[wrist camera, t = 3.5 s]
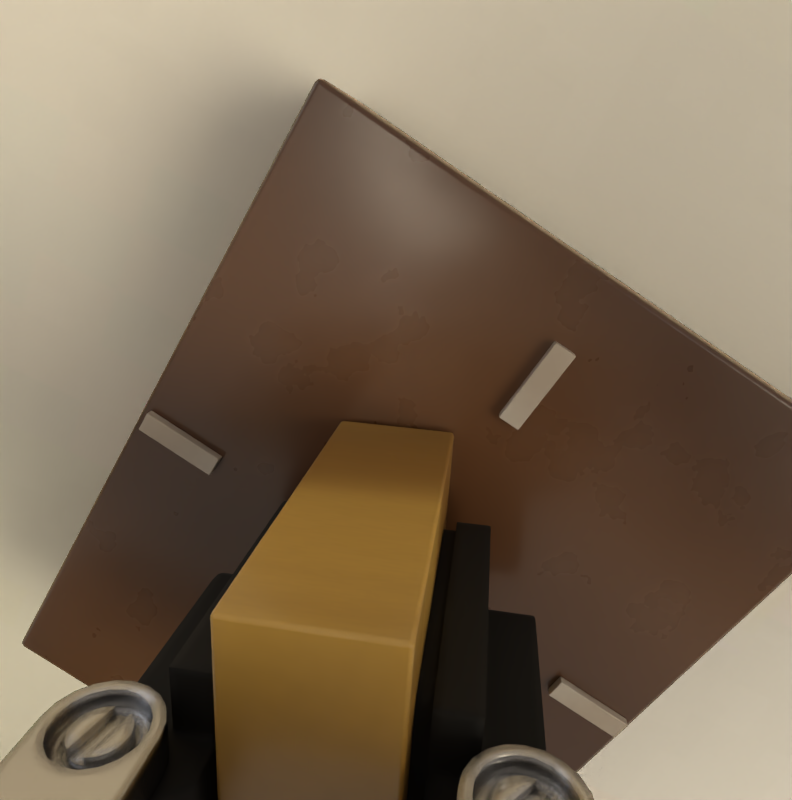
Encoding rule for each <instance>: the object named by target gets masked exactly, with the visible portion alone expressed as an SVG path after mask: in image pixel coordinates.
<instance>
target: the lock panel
mask: <svg viewBox="0 0 792 800" xmlns="http://www.w3.org/2000/svg"><path fill="white" fill-rule="evenodd" d="M342 421H348V422H358V423H367V424H377V425H386V426H395V427H405V428H414V429H423V430H433V431H442V432H451V433H453V435H454V441H453V452H452V463H451V474H450V485H449V496H448V507H447V518H446V530H454V531H456V526H457V522H462V523H471V524H479V525H487V526H491V536H490V572H489V607H488V609H489V610H496V611H503V612H511V613H518V614H525V615H532V616H534V617H535V621H536V631H537V644H538V656H539V668H540V680H541V693H542V705H543V717H544V730H545V742H546V752H548V753H550V754H552V755H553V756H555V757H557V758H559V759H561V760H562V761H564V762H565V763H566V764H567V765H568V766H570V767H571V768H572V769H573V770H574V771H575V772H576V773H577V772H578V771H579V770H580V769H581V768H582V767H583V766H584V765H585V764H586V763H587V762H588V761H590V760H591V759H592V758H593V757H594V756H595V755H596V754H597V753H598V752H599V751H600V750H601V749H603V748H604V747H605V746H606V745H607V744H608V743H609V742H610V741H611V740H612V739H613V738H614V737H616V736H617V735H618V734H619V733H620V732H621V731H623V730H624V729H625V728H626V727H627V726H628V725H629V724H630V723H631V722H632V721H633V720H634V719H635V718H636V717H637V716H638V715H639V714H640V713H641V712H643V711H644V710H645V709H646V708H647V707H648V706H649V705H650V704H651V703H652V702H653V701H654V700H656V699H657V698H658V697H659V696H660V695H661V694H662V693H663V692H664V691H665V690H666V689H667V688H669V687H670V686H671V685H672V684H673V683H674V682H675V681H676V680H677V679H678V678H679V677H680V676H682V675H683V674H684V673H685V672H686V671H687V670H688V669H689V668H690V667H691V666H692V665H693V664H695V663H696V662H697V661H698V660H699V659H700V658H701V657H702V656H703V655H704V654H705V653H706V652H708V651H709V650H710V649H711V648H712V647H713V646H714V645H715V644H716V643H717V642H718V641H719V640H720V639H722V638H723V637H724V636H725V635H726V634H727V633H728V632H729V631H730V630H731V629H732V628H733V627H735V626H736V625H737V624H738V623H739V622H740V621H741V620H742V619H743V618H744V617H745V616H746V615H748V614H749V613H750V612H751V611H752V610H753V609H754V608H755V607H756V606H757V605H758V604H759V603H761V602H762V601H763V600H764V599H765V598H766V597H767V596H768V595H769V594H770V593H771V592H772V591H774V590H775V589H776V588H777V587H778V586H779V585H780V584H781V583H782V582H783V581H784V580H785V579H787V578H788V577H789V576H790V575H791V574H792V399H791V398H789V397H788V396H786V395H785V394H783V393H782V392H780V391H779V390H778V389H776V388H775V387H773V386H772V385H770V384H769V383H767V382H766V381H764V380H763V379H762V378H760V377H759V376H757V375H756V374H754V373H753V372H751V371H750V370H748V369H747V368H746V367H744V366H743V365H741V364H740V363H738V362H737V361H735V360H734V359H732V358H731V357H730V356H728V355H727V354H725V353H724V352H722V351H721V350H719V349H718V348H717V347H715V346H714V345H712V344H711V343H709V342H708V341H706V340H705V339H703V338H702V337H701V336H699V335H698V334H696V333H695V332H693V331H692V330H690V329H689V328H687V327H686V326H685V325H683V324H682V323H680V322H679V321H677V320H676V319H674V318H673V317H672V316H670V315H669V314H667V313H666V312H664V311H663V310H661V309H660V308H658V307H657V306H656V305H654V304H653V303H651V302H650V301H648V300H647V299H645V298H644V297H642V296H641V295H640V294H638V293H637V292H635V291H634V290H632V289H631V288H629V287H628V286H627V285H625V284H624V283H622V282H621V281H619V280H618V279H616V278H615V277H613V276H612V275H611V274H609V273H608V272H606V271H605V270H603V269H602V268H600V267H599V266H597V265H596V264H595V263H593V262H592V261H590V260H589V259H587V258H586V257H584V256H583V255H581V254H580V253H579V252H577V251H576V250H574V249H573V248H571V247H570V246H568V245H567V244H566V243H564V242H563V241H561V240H560V239H558V238H557V237H555V236H554V235H552V234H551V233H550V232H548V231H547V230H545V229H544V228H542V227H541V226H539V225H538V224H536V223H535V222H534V221H532V220H531V219H529V218H528V217H526V216H525V215H523V214H522V213H521V212H519V211H518V210H516V209H515V208H513V207H512V206H510V205H509V204H507V203H506V202H505V201H503V200H502V199H500V198H499V197H497V196H496V195H494V194H493V193H491V192H490V191H489V190H487V189H486V188H484V187H483V186H481V185H480V184H478V183H477V182H476V181H474V180H473V179H471V178H470V177H468V176H467V175H465V174H464V173H462V172H461V171H460V170H458V169H457V168H455V167H454V166H452V165H451V164H449V163H448V162H446V161H445V160H444V159H442V158H441V157H439V156H438V155H436V154H435V153H433V152H432V151H430V150H429V149H428V148H426V147H425V146H423V145H422V144H420V143H419V142H417V141H416V140H415V139H413V138H412V137H410V136H409V135H407V134H406V133H404V132H403V131H401V130H400V129H399V128H397V127H396V126H394V125H393V124H391V123H390V122H388V121H387V120H385V119H384V118H383V117H381V116H380V115H378V114H377V113H375V112H374V111H372V110H371V109H370V108H368V107H367V106H365V105H364V104H362V103H361V102H359V101H358V100H356V99H355V98H353V97H351V96H350V95H348V94H347V93H345V92H343V91H342V90H340V89H338V88H337V87H335V86H334V85H332V84H330V83H329V82H327V81H325V80H323V79H318V80H317V81H316V82H315V83H314V85H313V87H312V89H311V91H310V92H309V94H308V96H307V98H306V100H305V102H304V104H303V106H302V108H301V110H300V112H299V114H298V115H297V117H296V119H295V121H294V123H293V125H292V127H291V129H290V131H289V133H288V135H287V136H286V138H285V140H284V142H283V144H282V146H281V148H280V150H279V152H278V154H277V156H276V157H275V159H274V161H273V163H272V165H271V167H270V169H269V171H268V173H267V175H266V177H265V179H264V180H263V182H262V184H261V186H260V188H259V190H258V192H257V194H256V196H255V198H254V200H253V201H252V203H251V205H250V207H249V209H248V211H247V213H246V215H245V217H244V219H243V221H242V222H241V224H240V226H239V228H238V230H237V232H236V234H235V236H234V238H233V240H232V242H231V243H230V245H229V247H228V249H227V251H226V253H225V255H224V257H223V259H222V261H221V263H220V265H219V266H218V268H217V270H216V272H215V274H214V276H213V278H212V280H211V282H210V284H209V286H208V287H207V289H206V291H205V293H204V295H203V297H202V299H201V301H200V303H199V305H198V307H197V308H196V310H195V312H194V314H193V316H192V318H191V320H190V322H189V324H188V326H187V328H186V329H185V331H184V333H183V335H182V337H181V339H180V341H179V343H178V345H177V347H176V349H175V351H174V352H173V354H172V356H171V358H170V360H169V362H168V364H167V366H166V368H165V370H164V372H163V373H162V375H161V377H160V379H159V381H158V383H157V385H156V387H155V389H154V391H153V393H152V394H151V396H150V398H149V400H148V402H147V404H146V406H145V408H144V410H143V412H142V414H141V415H140V417H139V419H138V421H137V423H136V425H135V427H134V429H133V431H132V433H131V435H130V437H129V438H128V440H127V442H126V444H125V446H124V448H123V450H122V452H121V454H120V456H119V458H118V459H117V461H116V463H115V465H114V467H113V469H112V471H111V473H110V475H109V477H108V479H107V480H106V482H105V484H104V486H103V488H102V490H101V492H100V494H99V496H98V498H97V500H96V501H95V503H94V505H93V507H92V509H91V511H90V513H89V515H88V517H87V519H86V521H85V523H84V524H83V526H82V528H81V530H80V532H79V534H78V536H77V538H76V540H75V542H74V544H73V545H72V547H71V549H70V551H69V553H68V555H67V557H66V559H65V561H64V563H63V565H62V566H61V568H60V570H59V572H58V574H57V576H56V578H55V580H54V582H53V584H52V586H51V587H50V589H49V591H48V593H47V595H46V597H45V599H44V601H43V603H42V605H41V607H40V609H39V610H38V612H37V614H36V616H35V618H34V620H33V622H32V624H31V626H30V628H29V630H28V631H27V633H26V635H25V637H24V639H23V642H22V644H23V645H24V646H25V647H26V648H28V649H30V650H31V651H33V652H34V653H36V654H38V655H39V656H41V657H43V658H44V659H46V660H47V661H49V662H51V663H52V664H54V665H55V666H57V667H59V668H60V669H62V670H63V671H65V672H67V673H68V674H70V675H71V676H73V677H75V678H76V679H78V680H79V681H81V682H83V683H84V684H86V685H87V686H90V685H93V684H96V683H102V682H108V681H114V680H121V681H135V682H138V681H139V679H140V678H141V677H142V675H143V674H144V672H145V671H146V670H147V668H148V667H149V666H150V664H151V663H152V662H153V660H154V659H155V657H156V656H157V655H158V653H159V652H160V651H161V649H162V648H163V647H164V645H165V644H166V642H167V641H168V640H169V638H170V637H171V636H172V634H173V633H174V632H175V630H176V629H177V627H178V626H179V625H180V623H181V622H182V621H183V619H184V618H185V617H186V615H187V614H188V612H189V611H190V610H191V608H192V607H193V606H194V604H195V603H196V602H197V600H198V599H199V597H200V596H201V595H202V593H203V592H204V591H205V589H206V588H207V587H208V585H209V584H210V582H211V581H212V580H213V579H214V578H215V577H216V576H217V575H218V574H220V573H229V574H233V573H234V572H235V570H236V569H237V567H238V566H239V564H240V563H241V562H242V560H243V559H244V557H245V556H246V554H247V553H248V551H249V550H250V549H251V547H252V546H253V544H254V543H255V541H256V540H257V538H258V537H259V535H260V534H261V533H262V531H263V530H264V528H265V527H266V525H267V524H268V522H269V521H270V520H271V518H272V517H273V515H274V514H275V512H276V511H277V509H278V508H279V507H280V505H281V504H282V503H283V502H284V501H288V499H289V498H290V496H291V495H292V493H293V492H294V490H295V489H296V488H297V486H298V485H299V483H300V482H301V480H302V479H303V477H304V476H305V474H306V473H307V471H308V470H309V468H310V467H311V465H312V464H313V463H314V461H315V460H316V458H317V457H318V455H319V454H320V452H321V451H322V449H323V448H324V446H325V445H326V443H327V442H328V440H329V439H330V437H331V436H332V435H333V433H334V432H335V430H336V429H337V427H338V426H339V424H340V423H341V422H342Z"/></svg>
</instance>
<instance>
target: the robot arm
mask: <svg viewBox="0 0 792 800" xmlns="http://www.w3.org/2000/svg"><path fill="white" fill-rule="evenodd" d="M286 502H287V501H284V502H283V503H282V504H281V505H280V507H279V508H278V509H277V511H276V512H275V514H274V515H273V517H272V518H271V520H270V521H269V522H268V524H267V525H266V527H265V528H264V530H263V531H262V533H261V534H260V535H259V537H258V538H257V540H256V541H255V543H254V544H253V546H252V547H251V549H250V550H249V551H248V553H247V554H246V556H245V557H244V559H243V560H242V562H241V563H240V564H239V566H238V567H237V569H236V570H235V572H234V573H233V574H229V573H220V574H218V575H217V576H216V577H215V578H214V579H213V580H212V581H211V582H210V584H209V585H208V587H207V588H206V589H205V591H204V592H203V593H202V595H201V596H200V597H199V599H198V600H197V602H196V603H195V604H194V606H193V607H192V608H191V610H190V611H189V612H188V614H187V615H186V617H185V618H184V619H183V621H182V622H181V623H180V625H179V626H178V627H177V629H176V630H175V632H174V633H173V634H172V636H171V637H170V638H169V640H168V641H167V642H166V644H165V645H164V647H163V648H162V649H161V651H160V652H159V653H158V655H157V656H156V657H155V659H154V660H153V662H152V663H151V664H150V666H149V667H148V668H147V670H146V671H145V672H144V674H143V675H142V677H141V678H140V679H139V681H138V682H135V681H121V680H114V681H108V682H102V683H96V684H93V685H90V686H87V687H85V688H82V689H79V690H77V691H74V692H73V693H71V694H69V695H68V696H66V697H64V698H63V699H61V700H59V701H57V702H56V703H55V704H54V705H53V706H52V707H50V708H49V709H48V710H47V711H46V712H45V713H44V714H43V715H42V716H41V717H40V718H39V719H38V720H37V721H36V722H35V724H34V725H33V726H32V727H31V728H30V729H29V730H28V732H27V733H26V734H25V735H24V736H23V737H22V738H21V740H20V741H19V742H18V743H17V744H16V745H15V746H14V748H13V749H12V750H11V751H10V752H9V753H8V754H7V756H6V757H5V758H4V759H3V760H2V761H1V762H0V800H218V790H217V766H216V743H215V719H214V695H213V671H212V647H211V623H210V615H211V613H212V611H213V610H214V608H215V607H216V605H217V604H218V602H219V601H220V599H221V598H222V596H223V595H224V594H225V592H226V591H227V589H228V588H229V586H230V585H231V583H232V582H233V580H234V579H235V577H236V576H237V574H238V573H239V571H240V570H241V569H242V567H243V566H244V564H245V563H246V561H247V560H248V558H249V557H250V555H251V554H252V552H253V551H254V549H255V548H256V546H257V545H258V543H259V542H260V541H261V539H262V538H263V536H264V535H265V533H266V532H267V530H268V529H269V527H270V526H271V524H272V523H273V521H274V520H275V518H276V517H277V516H278V514H279V513H280V511H281V510H282V508H283V507H284V505H285V504H286ZM490 536H491V526H487V525H479V524H471V523H462V522H457V526H456V531H454V530H446V529H444V531H443V537H442V543H441V549H440V555H439V561H438V567H437V573H436V580H435V586H434V592H433V598H432V604H431V610H430V616H429V622H428V628H427V634H426V640H425V647H424V653H423V659H422V665H421V671H420V677H419V683H418V690H417V697H416V704H415V713H414V722H413V733H412V745H411V757H410V770H409V782H408V794H407V800H594V798H593V795H592V793H591V791H590V790H589V788H588V787H587V785H586V784H585V783H584V781H583V780H582V778H581V777H580V775H578V774H577V773H576V772H575V771H574V770H573V769H572V768H571V767H570V766H568V765H567V764H566V763H565V762H564V761H562V760H561V759H559V758H557V757H555V756H553V755H552V754H550V753H548V752H546V742H545V730H544V717H543V705H542V693H541V680H540V668H539V656H538V644H537V631H536V621H535V617H534V616H532V615H525V614H518V613H511V612H503V611H496V610H489V609H488V607H489V572H490Z"/></svg>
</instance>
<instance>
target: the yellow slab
mask: <svg viewBox="0 0 792 800" xmlns="http://www.w3.org/2000/svg"><path fill="white" fill-rule="evenodd" d="M453 441H454V435H453V433H451V432H442V431H433V430H423V429H414V428H405V427H395V426H386V425H377V424H367V423H358V422H348V421H342V422H341V423H340V424H339V426H338V427H337V429H336V430H335V432H334V433H333V435H332V436H331V437H330V439H329V440H328V442H327V443H326V445H325V446H324V448H323V449H322V451H321V452H320V454H319V455H318V457H317V458H316V460H315V461H314V463H313V464H312V465H311V467H310V468H309V470H308V471H307V473H306V474H305V476H304V477H303V479H302V480H301V482H300V483H299V485H298V486H297V488H296V489H295V490H294V492H293V493H292V495H291V496H290V498H289V499H288V501H287V502H286V504H285V505H284V507H283V508H282V510H281V511H280V513H279V514H278V516H277V517H276V518H275V520H274V521H273V523H272V524H271V526H270V527H269V529H268V530H267V532H266V533H265V535H264V536H263V538H262V539H261V541H260V542H259V543H258V545H257V546H256V548H255V549H254V551H253V552H252V554H251V555H250V557H249V558H248V560H247V561H246V563H245V564H244V566H243V567H242V569H241V570H240V571H239V573H238V574H237V576H236V577H235V579H234V580H233V582H232V583H231V585H230V586H229V588H228V589H227V591H226V592H225V594H224V595H223V596H222V598H221V599H220V601H219V602H218V604H217V605H216V607H215V608H214V610H213V611H212V613H211V615H210V623H211V647H212V671H213V695H214V719H215V743H216V766H217V790H218V800H407V794H408V782H409V770H410V757H411V745H412V733H413V722H414V713H415V704H416V697H417V690H418V683H419V677H420V671H421V665H422V659H423V653H424V647H425V640H426V634H427V628H428V622H429V616H430V610H431V604H432V598H433V592H434V586H435V580H436V573H437V567H438V561H439V555H440V549H441V543H442V537H443V531H444V529H446V518H447V507H448V496H449V485H450V474H451V463H452V452H453Z"/></svg>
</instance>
